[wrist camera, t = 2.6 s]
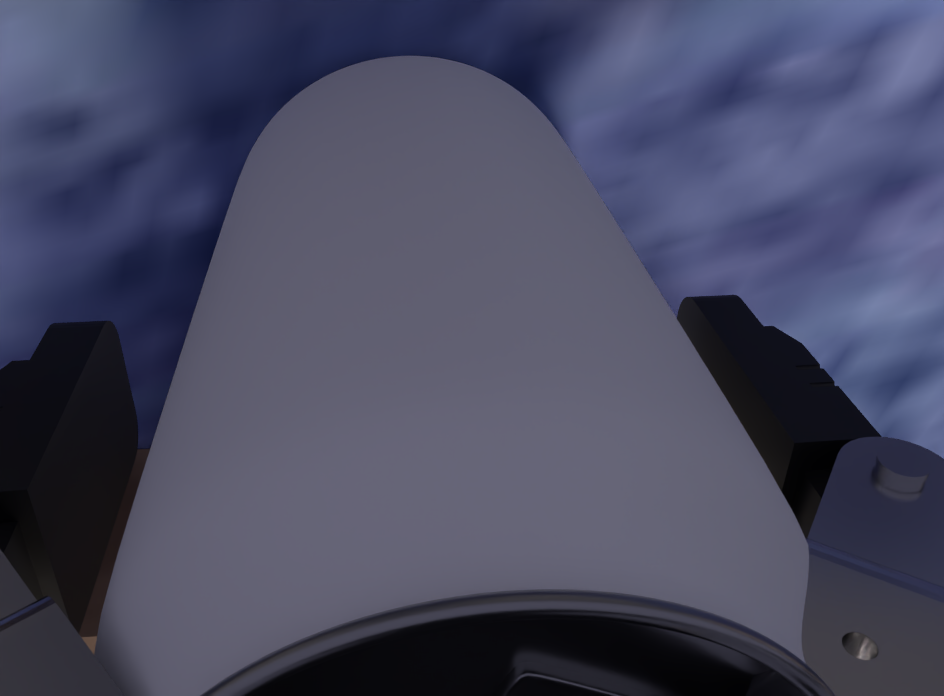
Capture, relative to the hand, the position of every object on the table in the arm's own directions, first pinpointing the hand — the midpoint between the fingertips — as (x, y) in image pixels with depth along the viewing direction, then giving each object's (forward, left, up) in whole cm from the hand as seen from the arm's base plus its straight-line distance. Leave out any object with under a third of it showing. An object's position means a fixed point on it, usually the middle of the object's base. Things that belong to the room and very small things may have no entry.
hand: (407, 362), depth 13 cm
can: (0, 0, -5) cm, 5 cm away
